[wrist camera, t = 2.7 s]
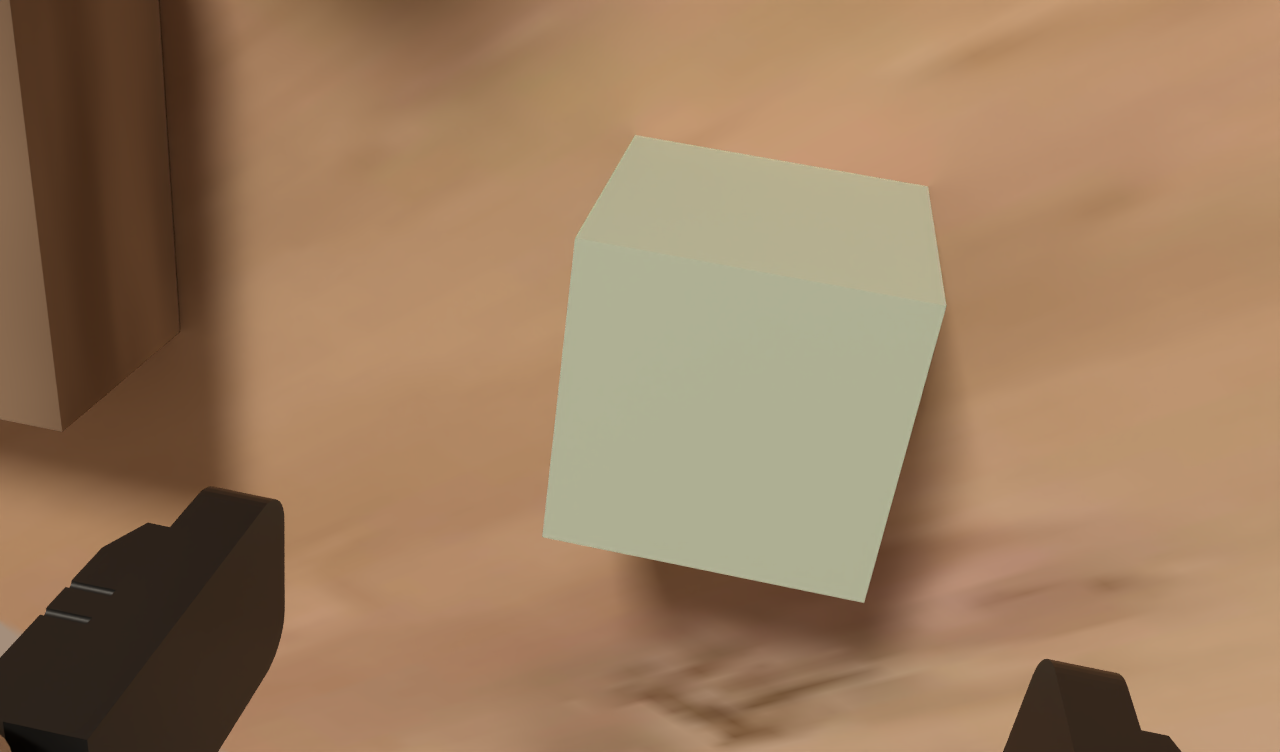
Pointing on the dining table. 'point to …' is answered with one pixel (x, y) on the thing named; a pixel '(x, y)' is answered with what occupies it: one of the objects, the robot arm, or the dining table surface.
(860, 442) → the sage green cube
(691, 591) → the dining table surface
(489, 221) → the dining table surface
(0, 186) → the walnut block
